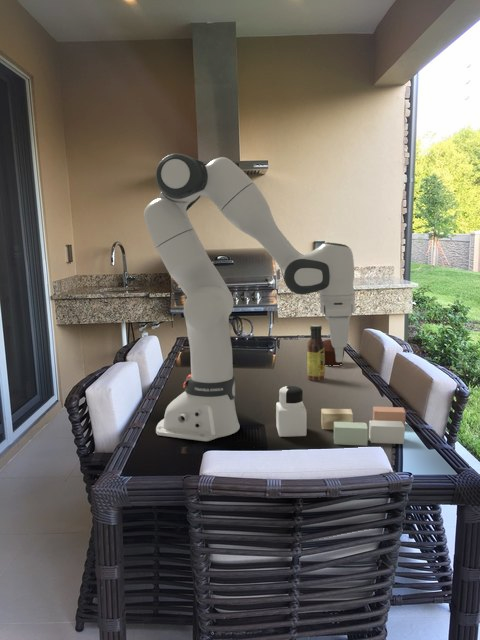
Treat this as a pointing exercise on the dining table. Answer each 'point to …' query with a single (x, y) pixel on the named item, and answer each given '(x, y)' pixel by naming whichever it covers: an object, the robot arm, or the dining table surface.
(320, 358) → the sauce bottle
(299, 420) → the medicine bottle
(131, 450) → the dining table surface
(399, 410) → the terracotta block
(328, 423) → the maple block
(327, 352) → the muffin
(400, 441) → the grey block
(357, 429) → the sage block
